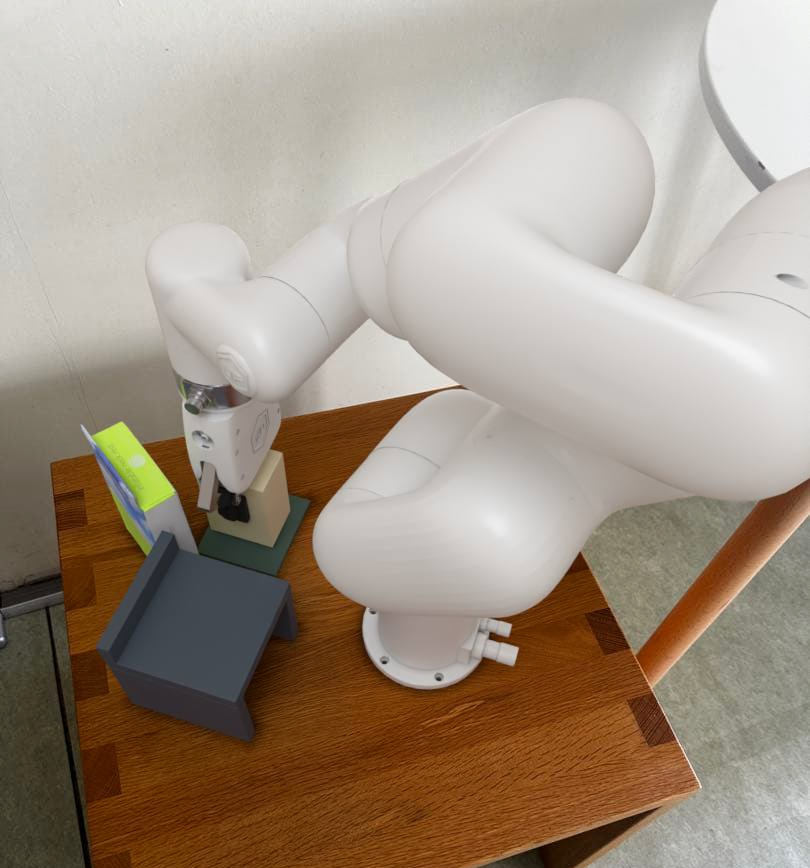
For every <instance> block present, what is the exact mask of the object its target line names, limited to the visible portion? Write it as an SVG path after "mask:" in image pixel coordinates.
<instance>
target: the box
mask: <svg viewBox="0 0 810 868" xmlns="http://www.w3.org/2000/svg"><path fill="white" fill-rule="evenodd" d="M79 428H80V429H81V431H82V433H83V435H84V437H85V438H86V439H87V442H88V444H89V445H90V448H91V450H92V452H93V455H94V457H95V459H96V461H97V463H98V466H99V468H100V470H101V473H102V475H103V478H104V480H105V482H106V484H107V487H108V489H109V491H110V493H111V496H112V499H113V501H114V504H115V505H116V508H117V510H118V512H119V514H120V517H121V519H122V521H123V524H124V526H125V528H126V530H127V531H128V533H130V535H131V536H132V538H133V539H134V540H135V541H136V543H137V545H139V547H140V549H141V550H142V552H143V553H144V554H145V556H146V557H147V556H148V554H149V552H150V551H151V549H152V547H153V545H154V544H155V542H156V540H157V538H158V537H159V535H160V533H161V531H162V530H163V531H166V532H169V533H173V534H174V535H175V538H176V540H177V543H178V546H179V549H181V550H185V551H188V552H191V553H195V554H198V555H200V554H199V552H198V549H197V547H198V546H197V544H196V541H195V538H194V535H193V533H192V530H191V527H190V524H189V522H188V521H189V520H188V519H187V516H186V513H185V511H184V508H183V505H182V503H181V500H180V496H179V493H178V491H177V490H176V488H175V487H174V486H173V484H172V483H171V481H170V480H169V479H168V478H167V477H166V475H165V473H164V472H163V471H162V470H161V468H160V467H159V466H158V464H157V463H156V461H154V459H153V458H152V457H151V455H150V454H149V452H148V451H147V450H146V448H145V447H144V446H143V445H142V443H141V442H140V441H139V439H138V438H137V437H136V436H135V434H134V433H133V432H132V430H131V429H130V428H129V427H128V426H127V425H126V423H124V422H123V421H122V420H121V421H119V422H117V423H115V424H113V425H111V426H109V427H108V428H105V429H103V430H101V431H99V432H96V433H95V434H92V435H91V434H90V433H89V432H88V431H87V429H86V428H85V426H84V425H83V424H79Z"/></svg>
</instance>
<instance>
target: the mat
mask: <svg viewBox="0 0 810 868" xmlns="http://www.w3.org/2000/svg"><path fill="white" fill-rule="evenodd" d="M288 497H289V504H290V512H289V514H288V517H287V519H286V521H285V523H284V525H283V527H282V529H281V531H280V533H279V535H278V537H277V540H276V542H275V544H274V546H273V547H269V546H266V545H262V544H259V543H256V542H252V541H249V540H245V539H242V538H239V537H235V536H232V535H229V534H225V533H222V532H219V531H215V530H212V529H211V527H210V524H209V525H208V527H207V528H206V531H205V533H204V534H203V536H202V538H201V540H200V542H199V544H198V546H197V549H198V552H199V555H201V556H205V557H208V558H211V559H215V560H218V561H221V562H225V563H228V564H231V565H235V566H238V567H241V568H245V569H248V570H251V571H255V572H258V573H261V574H265V575H268V576H271V577H275V578H277V576H278V573H279V571H280V570H281V566H282V565H283V563H284V560H285V559H286V556H287V554H288V552H289V549H290V547H291V546H292V543H293V541H294V539H295V536H296V535H297V532H298V530H299V528H300V526H301V524H302V522H303V519H304V518H305V515H306V513H307V511H308V509H309V506H310V504H311V500H310V499H307V498H303V497H300V496H296V495H292V494H290V493H288Z"/></svg>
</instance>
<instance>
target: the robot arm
mask: <svg viewBox="0 0 810 868" xmlns="http://www.w3.org/2000/svg"><path fill="white" fill-rule="evenodd" d="M655 170H656V169H655V163H654V159H653V157H652V152H651V150H650V148H649V145H648V143H647V140H646V137H645V135H643V133H642V132H641V130H640V128H639V127H638V126H637V124H635V121H633V119H631V117H629V116H628V115H627V114H625V113H624V112H623V111H621V110H620V109H619V108H618V107H615V106H613V105H611V104H609V103H608V102H605V101H602V100H598V99H595V98H589V97H587V98H586V97H578V96H577V97H565V98H564V97H563V98H559V99H555V100H550V101H546V102H544V103H540V104H538V105H534V106H532V107H530V108H528V109H526V110H524V111H522V112H520V113H518V114H516V115H514V116H512V117H510V118H508V119H506V120H505V121H504V122H501V123H500V124H498V125H497V126H495V127H493V128H491V129H490V130H488V131H486V132H485V133H483V134H481V135H479V136H478V137H476V138H474V139H473V140H471V141H469V142H467V143H466V144H464V145H463V146H461V147H459V148H458V149H456V150H455V151H453V152H452V153H450V154H448V155H447V156H444V157H443V158H441V159H440V160H438V161H436V162H435V163H433V164H431V165H430V166H428V167H427V168H425V169H423V170H421V171H419V172H418V173H416V174H415V175H414V176H411V177H410V178H407V179H406V180H404V181H402V182H401V183H399V184H397V185H396V186H394V187H392V188H391V189H389V190H388V191H385V192H384V193H375V194H371V195H369V196H367V197H366V198H364V199H361V200H360V201H358V202H357V203H355V204H353V205H352V206H350V207H348V208H347V209H345V210H343V211H342V212H340V213H338V214H337V215H335V216H333V217H331V218H330V219H328V220H327V221H326V222H324V223H321V224H320V225H319V226H318V227H315V228H314V229H313V230H311V231H310V232H309V233H307V234H306V235H304V236H303V237H302V238H301V239H300V240H298V241H297V242H296V243H295V244H293V245H292V246H291V247H290V248H288V249H287V250H286V251H285V252H283V253H282V254H281V255H280V256H278V258H276V259H275V260H274V261H273V262H271V264H269V266H267V267H265V269H264V270H263V271H261V272H260V273H259V274H258V275H257V276H256V277H254V274H253V268H252V267H253V266H252V262H251V256H250V253H249V250H248V247H247V246H246V243H244V241H243V239H242V238H241V237H240V235H238V234H237V233H236V232H235V231H234V230H232V229H231V228H229V227H228V226H225V225H223V224H221V223H218V222H213V221H207V220H189V221H183V222H180V223H177V224H173V225H171V226H168V227H167V228H165V229H163V230H162V231H161V232H159V233H158V234H157V235H156V236H155V237H154V238H153V239H152V241H151V242H150V244H149V245H148V248H147V249H146V252H145V257H144V270H145V275H146V279H147V282H148V286H149V290H150V294H151V297H152V301H153V305H154V309H155V313H156V316H157V319H158V323H159V326H160V330H161V334H162V337H163V341H164V343H165V348H166V350H167V351H166V352H167V355H168V359H169V363H170V365H171V370H172V373H173V377H174V380H175V383H176V387H177V391H178V394H179V395H180V397H181V399H182V401H181V411H182V425H183V431H184V439H185V445H186V451H187V454H188V459H189V463H190V466H191V469H192V473H193V474H194V476H195V478H197V479H196V481H197V480H198V481H199V482H200V483H201V484H200V489H199V492H198V497H197V498H198V499H197V505H196V509H197V510H198V511H202V512H205V513H206V512H208V513H212V512H214V511H215V510H218V514H219V515H221V516H222V517H223V518H224V519H226V520H229V521H233V522H235V521H236V520H237V521H240V522H244V523H248V522H249V520H250V515H249V510H248V505H247V500H246V497H245V496H244V495H241V493H243V492H244V491H245V490H246V489H247V488H248V487H249V486H250V484H251V483H252V481H253V479H254V477H255V476H256V474H257V472H258V470H259V468H260V466H261V464H262V462H263V460H264V459H265V457H266V455H267V453H268V451H269V449H271V447H272V445H273V443H274V441H275V439H276V437H277V435H278V433H279V430H280V427H281V423H282V413H281V408H280V407H281V406H280V403H281V402H282V401H285V400H287V399H288V398H289V397H291V396H292V395H293V394H294V393H296V391H297V390H299V388H301V387H302V385H303V384H304V383H306V382H307V380H309V378H310V377H312V375H314V373H315V372H317V371H318V369H319V368H321V366H322V365H324V363H325V362H326V361H327V360H329V358H330V357H331V356H332V355H334V353H335V352H336V351H337V350H338V349H339V348H341V346H342V345H343V344H344V343H345V342H346V341H347V340H348V339H349V338H350V337H351V336H352V335H353V334H354V333H355V332H356V331H357V330H359V328H361V327H362V326H363V325H364V324H365V323H366V322H367V321H368V320H369V319H370V320H371V321H372V322H373V323H374V324H375V325H376V326H377V327H378V328H379V329H381V330H382V331H384V332H385V333H387V334H388V335H390V336H392V337H394V338H397V339H399V340H403V341H406V342H408V344H409V345H410V346H411V348H412V349H413V350H414V351H415V352H416V353H417V354H418V355H419V356H420V357H421V358H422V359H424V360H425V362H427V363H428V364H429V365H430V366H432V367H433V368H434V369H435V370H436V371H438V372H440V373H441V374H443V375H444V376H446V377H448V378H449V379H451V380H452V381H454V382H455V383H457V384H459V385H460V386H462V387H463V388H465V389H461V388H452V389H446V390H442V391H438V392H436V393H433V394H432V395H431V394H430V395H429V396H427V397H425V398H424V399H423V400H421V401H420V402H418V403H416V404H415V405H414V406H413V407H412V408H410V410H409V411H408V412H406V414H404V415H403V416H402V418H400V419H399V420H398V421H397V423H396V424H395V425H394V426H393V427H392V428H391V429H390V430H389V432H387V434H386V435H385V436H384V437H383V438H382V439H381V441H379V443H378V444H377V445H376V446H375V448H374V449H373V450H372V451H371V452H370V453H369V454H368V455H367V457H366V458H365V460H364V461H363V462H362V463H361V464H360V465H359V466H358V468H357V469H356V470H355V471H354V472H353V473H352V474H351V476H350V477H349V478H348V479H347V480H346V481H345V482H344V483H343V485H342V486H341V487H340V488H339V489H338V490H336V492H335V494H334V495H333V496H332V497H331V499H330V500H329V501H328V502H327V503H326V505H325V506H324V507H323V509H322V510H321V512H320V513H319V515H318V517H317V519H316V522H315V524H314V526H313V530H312V551H313V556H314V559H315V562H316V563H317V566H318V568H319V570H320V572H321V574H322V575H323V577H324V578H325V579H326V580H327V582H328V583H329V584H330V585H331V586H332V587H333V588H334V589H335V590H337V591H338V592H339V593H341V594H342V595H343V596H344V597H346V598H347V599H349V600H351V601H352V602H355V603H357V604H359V605H361V606H363V607H365V611H364V613H363V616H362V626H361V629H362V630H361V632H362V639H363V645H364V648H365V650H366V653H367V655H368V657H369V659H370V661H371V662H372V663H373V664H374V666H375V667H376V668H377V669H378V670H379V672H381V673H382V674H383V675H384V676H385V677H387V678H389V679H390V680H392V682H395V683H397V684H400V685H402V686H404V687H408V688H411V689H417V690H437V689H444V688H446V687H449V686H453V685H455V684H457V683H459V682H461V681H463V680H464V679H466V678H467V677H469V675H470V674H471V673H473V672H474V671H475V670H476V668H477V667H478V666H479V664H480V663H481V662H482V660H483V658H486V659H489V660H493V661H495V663H499V664H502V665H506V666H509V667H513V668H514V667H515V663H516V661H517V657H518V653H519V649H520V647H519V646H515V645H512V644H509V643H506V642H503V641H502V642H499V641H495V640H493V639H492V640H491V639H489V638H490V633H493V634H495V635H498V636H501V637H504V638H507V639H509V638H510V635H511V631H512V626H513V624H512V623H509V622H506V621H503V620H496V619H497V618H498V619H500V618H501V619H502V618H507V617H512V616H515V615H518V614H521V613H523V612H525V611H527V610H530V609H531V608H533V607H534V606H536V605H538V604H539V603H540V602H542V601H543V600H545V599H546V598H547V597H548V596H549V595H550V594H551V593H552V591H554V590H555V589H556V587H557V585H558V584H559V583H560V582H561V581H562V580H563V578H564V577H565V574H567V572H568V571H569V570H570V568H571V567H572V565H573V563H574V561H575V560H576V558H577V557H578V555H579V553H580V552H581V551H582V550H583V548H584V547H585V545H586V544H587V542H588V540H589V539H590V537H591V536H592V535H593V534H594V532H595V531H596V529H597V528H598V527H599V526H600V525H601V524H602V523H603V522H604V521H605V520H606V519H607V518H608V517H610V516H611V515H612V514H614V513H617V512H619V511H623V510H625V509H628V508H629V509H630V508H633V507H640V506H646V505H652V504H659V503H663V502H669V501H675V500H681V499H687V498H693V497H697V496H699V497H702V498H706V499H712V500H719V501H725V502H754V501H761V500H762V501H763V500H765V499H769V498H774V497H776V496H780V495H782V494H783V495H784V494H786V493H788V492H789V491H791V490H793V489H795V488H796V487H797V486H799V485H801V484H802V483H804V482H806V481H807V480H809V479H810V167H805V168H803V169H801V170H798V171H797V172H794V173H792V174H791V175H787V176H785V177H784V178H781V179H779V180H777V181H776V182H774V183H772V184H771V185H769V186H767V187H766V188H764V189H763V190H762V191H760V193H758V194H757V195H755V196H754V197H753V198H751V199H749V201H747V202H746V203H745V204H744V205H743V206H742V207H740V209H739V210H738V211H737V212H736V213H735V214H734V215H733V216H732V217H731V218H730V219H729V220H728V221H727V222H726V224H725V225H724V226H723V228H722V229H721V230H720V231H719V233H718V234H717V235H716V236H715V238H714V239H713V241H712V242H711V243H710V244H709V246H708V247H707V249H706V250H705V251H704V253H703V254H702V255H701V256H700V257H699V259H698V260H697V261H696V263H694V265H693V266H692V267H691V269H690V270H689V272H688V273H687V275H686V276H685V277H684V279H683V280H682V282H681V283H680V284H679V286H678V287H677V289H676V290H675V291H674V293H673V294H672V295H670V294H667V293H665V292H663V291H659V290H657V289H654V288H653V287H652V288H651V287H649V286H647V285H644V284H642V283H639V282H637V281H635V280H632V279H630V278H628V277H625V276H622V275H620V274H618V273H619V271H621V269H622V268H623V267H624V265H625V264H626V262H627V261H628V260H629V259H630V257H631V255H632V253H633V252H634V250H635V249H636V247H637V246H638V245H639V242H640V241H641V240H642V239H641V238H642V237H643V235H644V233H645V231H646V229H647V227H648V223H649V220H650V217H651V215H652V211H653V205H654V200H655V194H656V171H655ZM220 482H221V483H222V484H223V486H224V487H225V488H224V487H220ZM437 679H439V680H437Z"/></svg>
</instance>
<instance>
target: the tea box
mask: <svg viewBox="0 0 810 868" xmlns="http://www.w3.org/2000/svg"><path fill="white" fill-rule="evenodd" d="M284 460H285V459H284V453H283V452H281V451H278V450H275V449H271V448H270V449H269V451H268V453H267V455H266V457H265V459H264V460H263V462H262V464H261V466H260V468H259V470H258V472H257V474H256V476H255V477H254V479H253V481H252V483H251V484H250V486H249V487H248V488H247V489H246V490H245V491H244V492H243V493H241V495H244V496H245V497H246V500H247V505H248V510H249V515H250V520H249V522H248V523H244V522H240V521H237V520H236V521H235V522H233V521H229V520H226V519H224V518H223V517H222V516H221V515H219V514H218V510H215V511H214V512H212V513H208V512H205V513H206V517H207V520H208V524H209V525H210V527H211V529H212V530H215V531H219V532H222V533H225V534H229V535H232V536H235V537H239V538H242V539H245V540H249V541H252V542H256V543H259V544H262V545H266V546H269V547H273V546H274V544H275V542H276V540H277V537H278V535H279V533H280V531H281V529H282V527H283V525H284V523H285V521H286V519H287V517H288V514H289V512H290V504H289V497H288V494H289V491H288V482H287V476H286V467H285V461H284ZM195 478H196V477H195ZM196 482H197V485H198V489H199V490H200V484H201V483H200V482H199V481H198V480H197V478H196ZM220 487H224V486H223V484H222V483H221V482H220ZM224 488H225V487H224Z"/></svg>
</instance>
